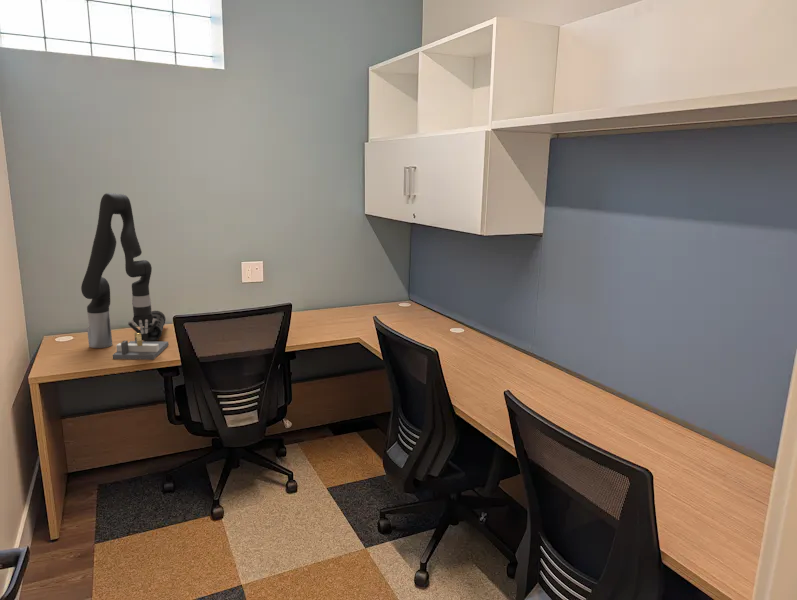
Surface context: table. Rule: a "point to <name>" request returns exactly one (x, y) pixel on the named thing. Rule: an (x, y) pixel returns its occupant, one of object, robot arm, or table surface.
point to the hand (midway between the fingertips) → (145, 340)
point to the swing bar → (138, 339)
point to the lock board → (142, 354)
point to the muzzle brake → (157, 330)
